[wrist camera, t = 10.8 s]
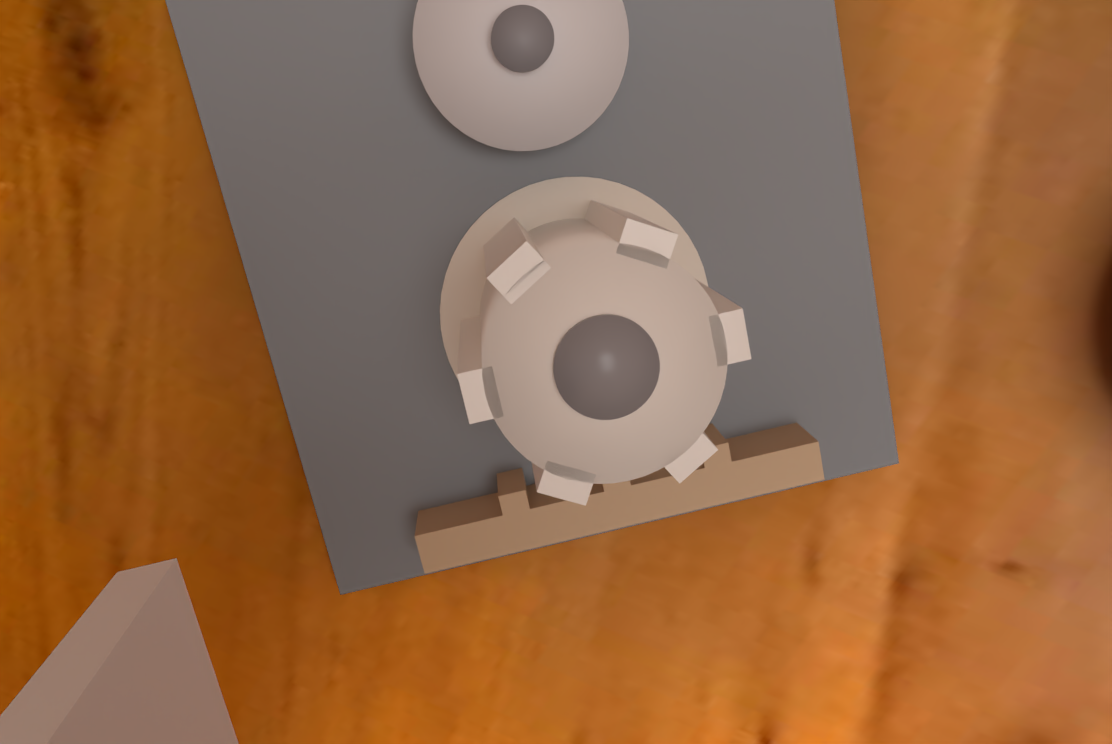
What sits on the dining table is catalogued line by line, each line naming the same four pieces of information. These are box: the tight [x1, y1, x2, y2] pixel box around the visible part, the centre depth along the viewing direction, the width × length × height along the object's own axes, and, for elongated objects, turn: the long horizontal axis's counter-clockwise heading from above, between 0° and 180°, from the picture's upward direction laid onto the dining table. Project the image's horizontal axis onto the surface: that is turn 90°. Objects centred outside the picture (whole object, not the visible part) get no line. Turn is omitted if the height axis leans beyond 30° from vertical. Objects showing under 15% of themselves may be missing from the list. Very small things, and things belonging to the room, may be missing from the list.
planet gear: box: [457, 200, 751, 506], centre depth 26 cm, size 7×6×7 cm
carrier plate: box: [165, 0, 899, 595], centre depth 28 cm, size 18×18×4 cm
